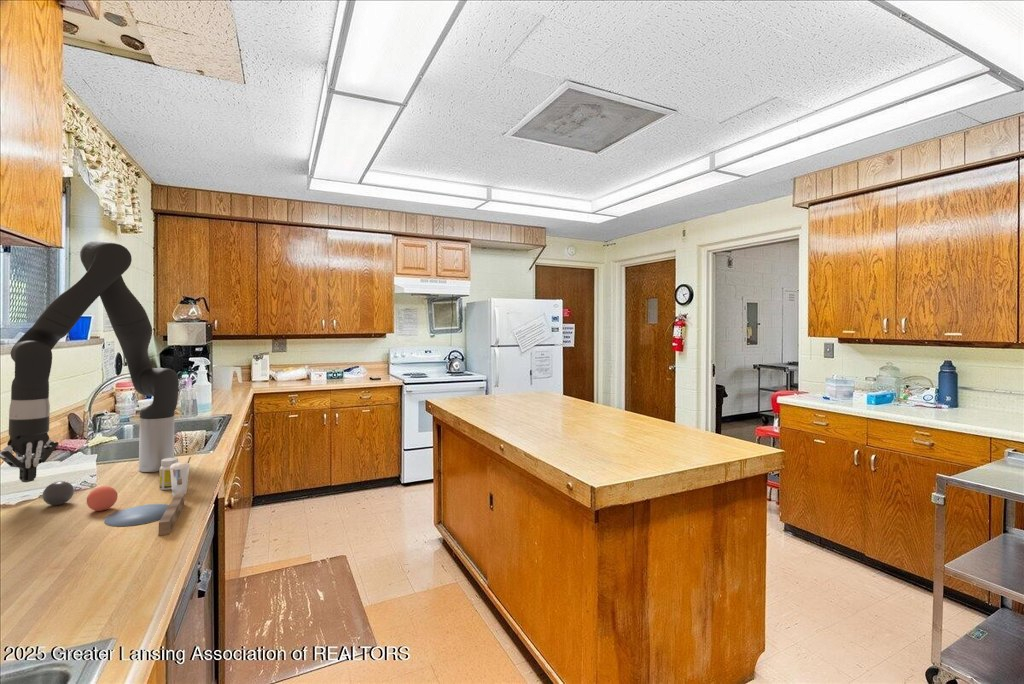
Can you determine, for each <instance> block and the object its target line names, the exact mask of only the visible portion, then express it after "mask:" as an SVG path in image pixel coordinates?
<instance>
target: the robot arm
mask: <svg viewBox="0 0 1024 684" xmlns="http://www.w3.org/2000/svg"><path fill="white" fill-rule="evenodd" d="M79 258H80V261H81V263H82V266H83V267H84V269H85V271H86V272H85V274H84V275H83V276H82V277H81V278H79V280H78V281H77V282H76V283H74V284H73V285H72V286H70V287H69V288H67V289H66V290H65V291H63V292H62V293H60V294H59V295H58V296H57V297H55V298H54V299H53V300H52V301H51V302H50V303H49V305H48V306H46V308H45V309H44V311H43V312H42V313H41V314H40V315H39V316H38V318H37V320H36V321H35V323H34V324H33V325H32V326H31V327H30V328H29V329H28V330H27V331H25V333H24V334H23V335H22V336H21V337H20V338H19V339H18V340H17V341H16V343H15V344H14V345H13V346H12V348H11V350H10V358H11V359H12V361H13V362H14V378H13V380H12V382H11V385H10V386H11V388H10V389H11V390H10V391H11V394H10V402H9V403H10V404H9V409H8V435H9V439H8V441H7V446H5V447H4V448H3V449H2V450H0V459H1V460H2V461H4V462H5V463H6V464H7V465H8V466H9V467H11V468H18V469H19V477H18V478H19V481H21V483H30V482H34V481H35V479H36V478H37V467H38V466H39V465H40V464H42V463H46V461H47V460H48V459H49V458H50V457H51V455H52V454H53V453H54V451H55V450H56V448H57V447H58V446H59V442H58V441H53V440H51V439H50V436H49V434H48V433H49V431H50V415H51V414H50V413H51V411H50V410H51V408H50V407H51V406H50V399H49V398H50V375H51V371H52V364H53V352H52V351H53V348H55V346H56V345H57V343H59V341H60V340H61V339H63V338H65V337H66V336H67V335H68V334H69V333H70V332H71V330H72V329H73V327H74V326H75V325H76V324H77V323H78V321H79V320H80V318H81V317H82V316H83V314H85V312H86V311H87V310H88V308H90V306H91V305H93V303H94V302H95V301H96V300H97V299H98V298H99V297H100V300H101V303H102V305H103V308H104V310H105V312H106V314H107V317H108V319H109V323H110V324H111V328H112V330H113V332H114V334H115V336H116V339H117V340H118V343H119V345H120V348H121V351H122V353H123V355H124V359H125V361H126V365H127V368H128V371H129V376H130V380H131V383H132V385H133V388H134V390H135V391H136V392H137V393H138V394H139V395H141V396H148V397H153V398H152V403H151V404H150V405H148V406H145V407H143V408H141V409H140V410H139V432H138V433H139V436H138V437H139V440H138V442H139V443H138V445H139V447H138V471H139V472H141V473H142V472H143V473H155V472H160V467H161V466H162V465H161V460H163V459H166V458H175V413H176V409H177V405H178V397H179V387H180V383H179V382H180V381H179V376H178V374H177V372H176V371H175V370H174V369H172V368H168V367H165V368H164V367H163V368H162V367H154V365H153V364H152V361H151V360H150V359H151V358H150V356H149V352H148V351H149V346H150V343H151V340H152V337H153V327H152V324H151V321H150V318H149V315H148V314H147V311H146V310H145V308H144V306H143V305H142V304H141V302H140V301H139V300H138V299H137V297H136V296H135V295H134V294H133V293H132V291H131V290H130V289H129V288H128V286H127V285H126V283H125V280H124V278H123V276H122V275H123V274H125V272H126V271H127V270H128V269H129V268H130V266H131V265H132V259H133V258H132V255H131V252H130V251H129V250H128V248H127V247H126V246H123V245H122V244H119V243H116V242H111V241H104V240H89V241H87V242H85V243H84V244H83V245H82V247H81V248H80V251H79ZM14 454H15V455H14Z"/></svg>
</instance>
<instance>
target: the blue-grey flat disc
mask: <svg viewBox="0 0 1024 684" xmlns="http://www.w3.org/2000/svg"><path fill="white" fill-rule="evenodd" d="M168 506H169V504H166V503H152V504H150V503H149V504H142V505H137V506H132V507H129V508H124V509H120V510H119V511H115V512H113V513H111V514H110V515H109V514H108V516H106V517H105V518H104V524H105V525H106V526H107V525H108V526H111V527H133V526H140V525H145V524H150V523H153V522H157V521H160V519H161V518H162V516H163V514H164V513H165V511H166V509H167V508H168Z"/></svg>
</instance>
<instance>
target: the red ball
mask: <svg viewBox="0 0 1024 684" xmlns="http://www.w3.org/2000/svg"><path fill="white" fill-rule="evenodd" d="M117 501H118V492H117V489H115V488H113V487H111V486H107V485H103V486H99V487H96V488H94V489H93V490H92V491H90V492H89V494H88V496H86V504H87V506H88V508H89V509H91V510H93V511H96V512H100V511H101V512H102V511H106V510H108V509H110V508H112V507H113V506H114V505H115V504H116V502H117Z"/></svg>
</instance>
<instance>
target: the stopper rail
mask: <svg viewBox="0 0 1024 684" xmlns="http://www.w3.org/2000/svg"><path fill="white" fill-rule="evenodd" d="M185 495H186V494H185V493H184V494H175V496H173V498H172V500H171V501H170V503H169V504H168V505H169V506H168V508H167V509H166V511H165V513H164V514H163V516H162V518H161V519H160V520H158V521H159V522H158V531H157V532H158V533H157V534H158V536H166V535H170V533H171V532H172V530H173V528H174V525H175V523H176V522H177V520H178V518H179V516H180V514H181V512H182V510H183V508H184V506H185Z"/></svg>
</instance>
